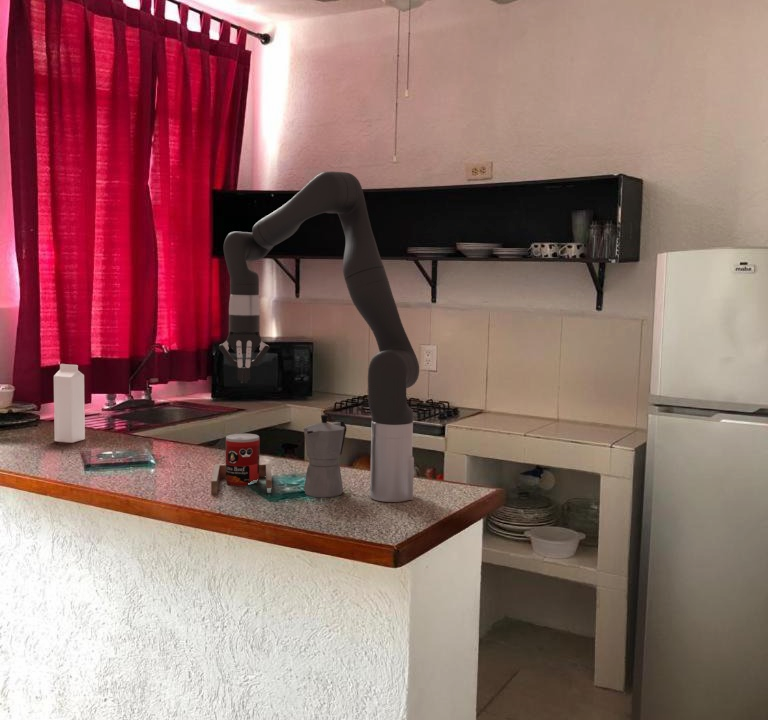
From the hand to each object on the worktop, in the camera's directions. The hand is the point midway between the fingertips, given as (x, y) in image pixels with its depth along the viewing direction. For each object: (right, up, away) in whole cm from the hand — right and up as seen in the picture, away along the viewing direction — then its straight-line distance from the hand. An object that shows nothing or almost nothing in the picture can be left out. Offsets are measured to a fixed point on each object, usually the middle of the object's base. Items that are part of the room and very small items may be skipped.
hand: (243, 382), depth 217 cm
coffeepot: (+22, -25, -19) cm, 38 cm away
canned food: (+2, -24, -12) cm, 26 cm away
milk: (-56, -18, +33) cm, 67 cm away
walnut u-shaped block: (+2, -24, -15) cm, 28 cm away
